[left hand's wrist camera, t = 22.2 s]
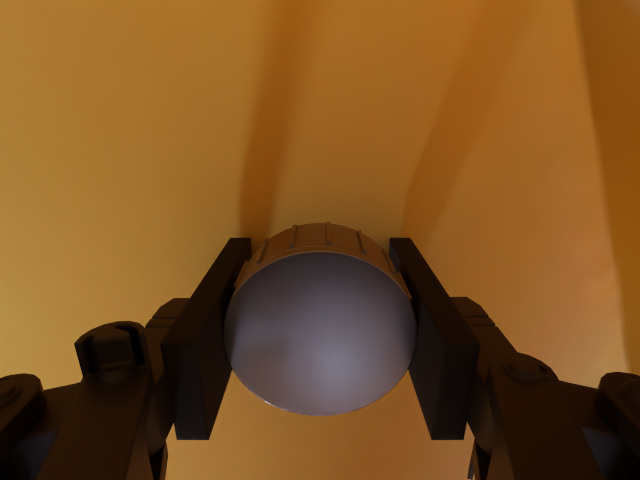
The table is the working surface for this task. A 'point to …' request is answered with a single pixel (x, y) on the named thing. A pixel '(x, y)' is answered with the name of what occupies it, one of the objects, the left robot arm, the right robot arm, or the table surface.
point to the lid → (320, 321)
